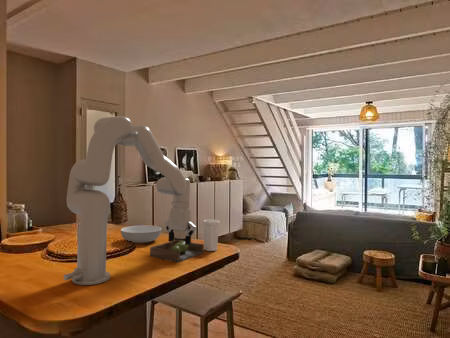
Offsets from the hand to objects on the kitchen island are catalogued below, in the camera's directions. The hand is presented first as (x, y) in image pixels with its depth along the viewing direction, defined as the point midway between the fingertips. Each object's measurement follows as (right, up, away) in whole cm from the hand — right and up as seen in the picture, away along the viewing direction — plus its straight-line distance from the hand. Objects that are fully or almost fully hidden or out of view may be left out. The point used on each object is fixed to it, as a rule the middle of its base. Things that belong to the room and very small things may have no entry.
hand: (179, 242), depth 152 cm
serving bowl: (-24, -5, +25) cm, 35 cm away
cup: (+14, -6, +11) cm, 19 cm away
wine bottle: (-1, -6, +19) cm, 20 cm away
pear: (0, -5, 0) cm, 5 cm away
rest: (-1, -6, +1) cm, 6 cm away
